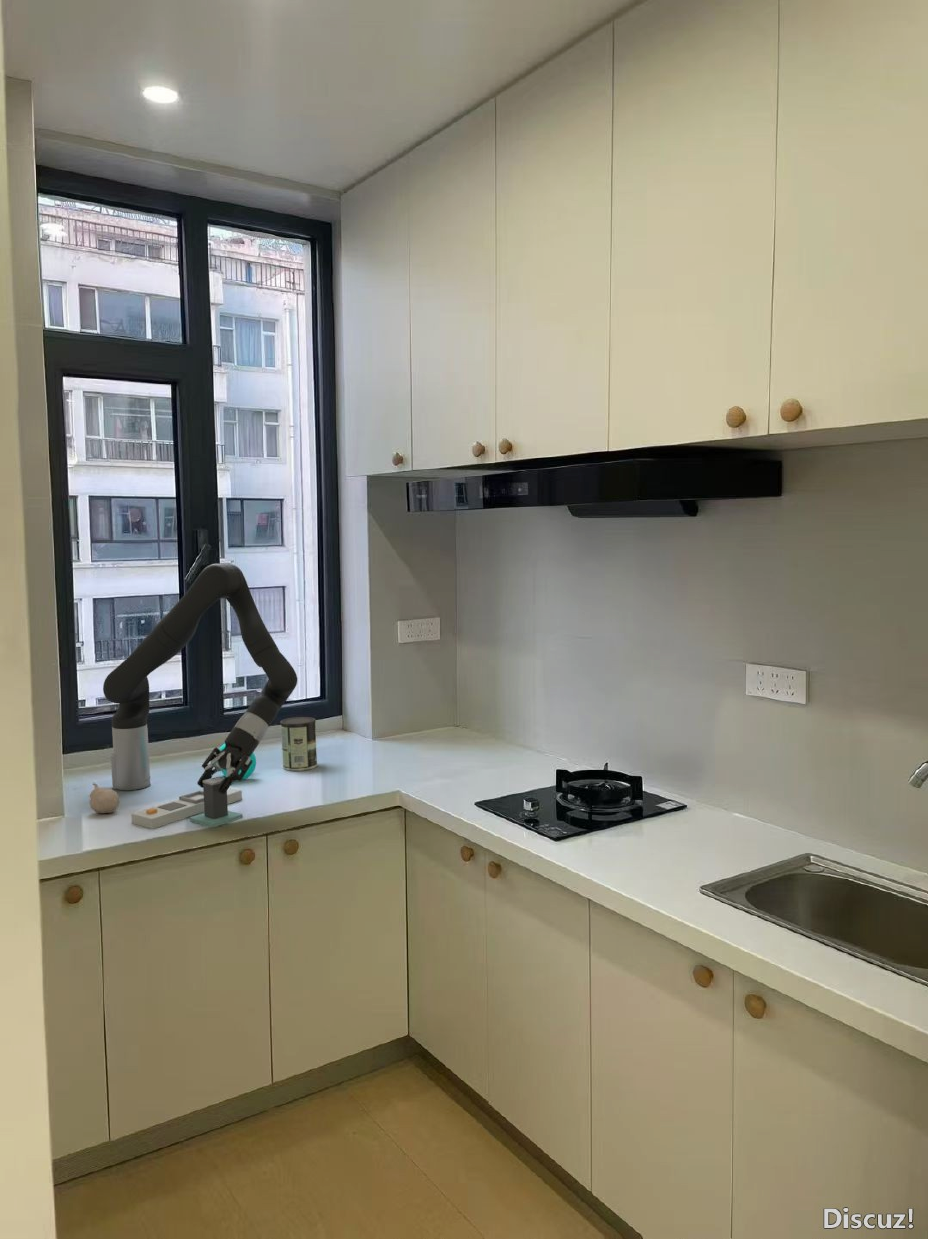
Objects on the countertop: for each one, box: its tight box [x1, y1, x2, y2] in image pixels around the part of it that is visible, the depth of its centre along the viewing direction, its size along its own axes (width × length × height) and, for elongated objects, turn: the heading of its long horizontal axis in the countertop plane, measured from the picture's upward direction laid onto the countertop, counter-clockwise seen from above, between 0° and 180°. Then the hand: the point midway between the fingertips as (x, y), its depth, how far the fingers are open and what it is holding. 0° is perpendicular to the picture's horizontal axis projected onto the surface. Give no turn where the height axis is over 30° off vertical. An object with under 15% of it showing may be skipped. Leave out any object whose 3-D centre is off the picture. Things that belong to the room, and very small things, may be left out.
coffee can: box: [280, 716, 318, 772], centre depth 280 cm, size 10×10×14 cm
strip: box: [130, 787, 243, 829], centre depth 239 cm, size 28×8×3 cm, turn 145°
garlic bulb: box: [89, 782, 121, 814], centre depth 238 cm, size 7×6×8 cm
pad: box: [188, 810, 244, 828], centre depth 232 cm, size 9×9×1 cm
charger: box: [202, 776, 229, 819], centre depth 232 cm, size 4×4×9 cm
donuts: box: [217, 743, 257, 782], centre depth 269 cm, size 10×10×10 cm
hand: (210, 789), depth 230 cm, fingers open, 8 cm apart
